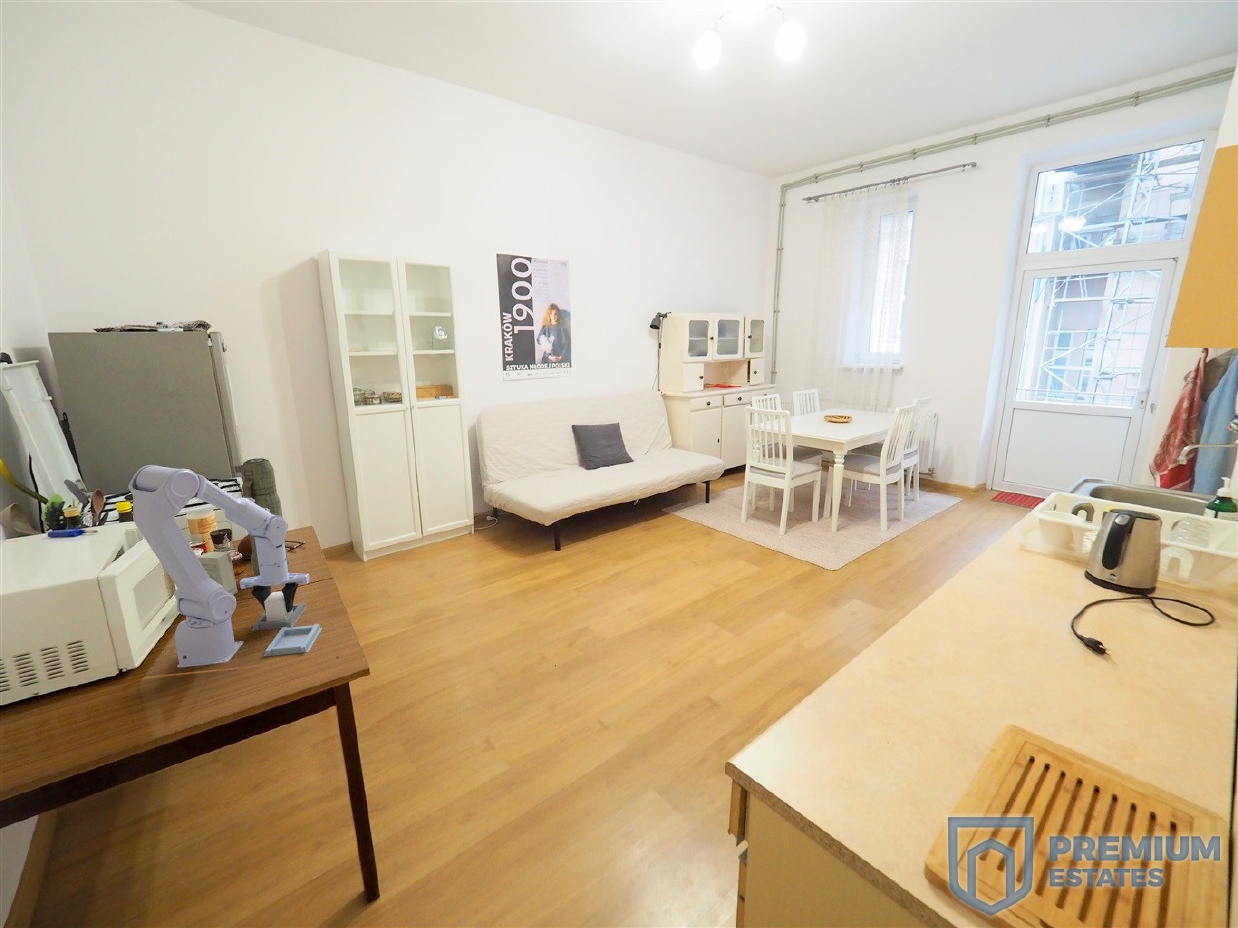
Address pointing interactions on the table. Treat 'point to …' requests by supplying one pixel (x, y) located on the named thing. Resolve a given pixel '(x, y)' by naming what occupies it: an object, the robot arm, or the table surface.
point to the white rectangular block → (276, 607)
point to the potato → (245, 547)
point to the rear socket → (291, 621)
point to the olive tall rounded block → (260, 495)
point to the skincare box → (220, 569)
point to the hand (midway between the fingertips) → (279, 611)
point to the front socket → (293, 640)
